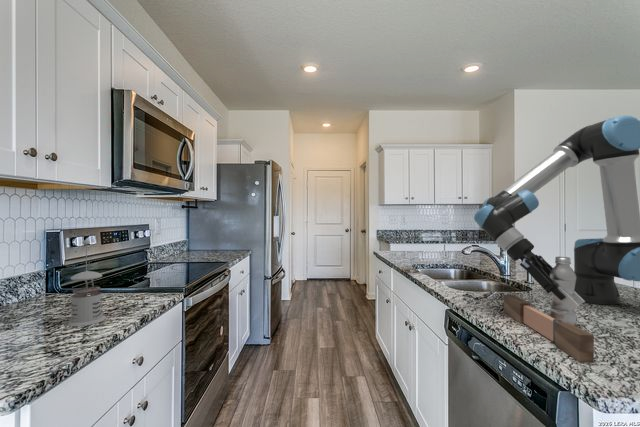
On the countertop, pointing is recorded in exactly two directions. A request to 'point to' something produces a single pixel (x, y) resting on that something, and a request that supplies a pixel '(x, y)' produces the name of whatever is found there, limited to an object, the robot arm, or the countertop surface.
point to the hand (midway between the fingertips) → (577, 306)
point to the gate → (540, 322)
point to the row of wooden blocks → (557, 331)
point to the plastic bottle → (565, 280)
